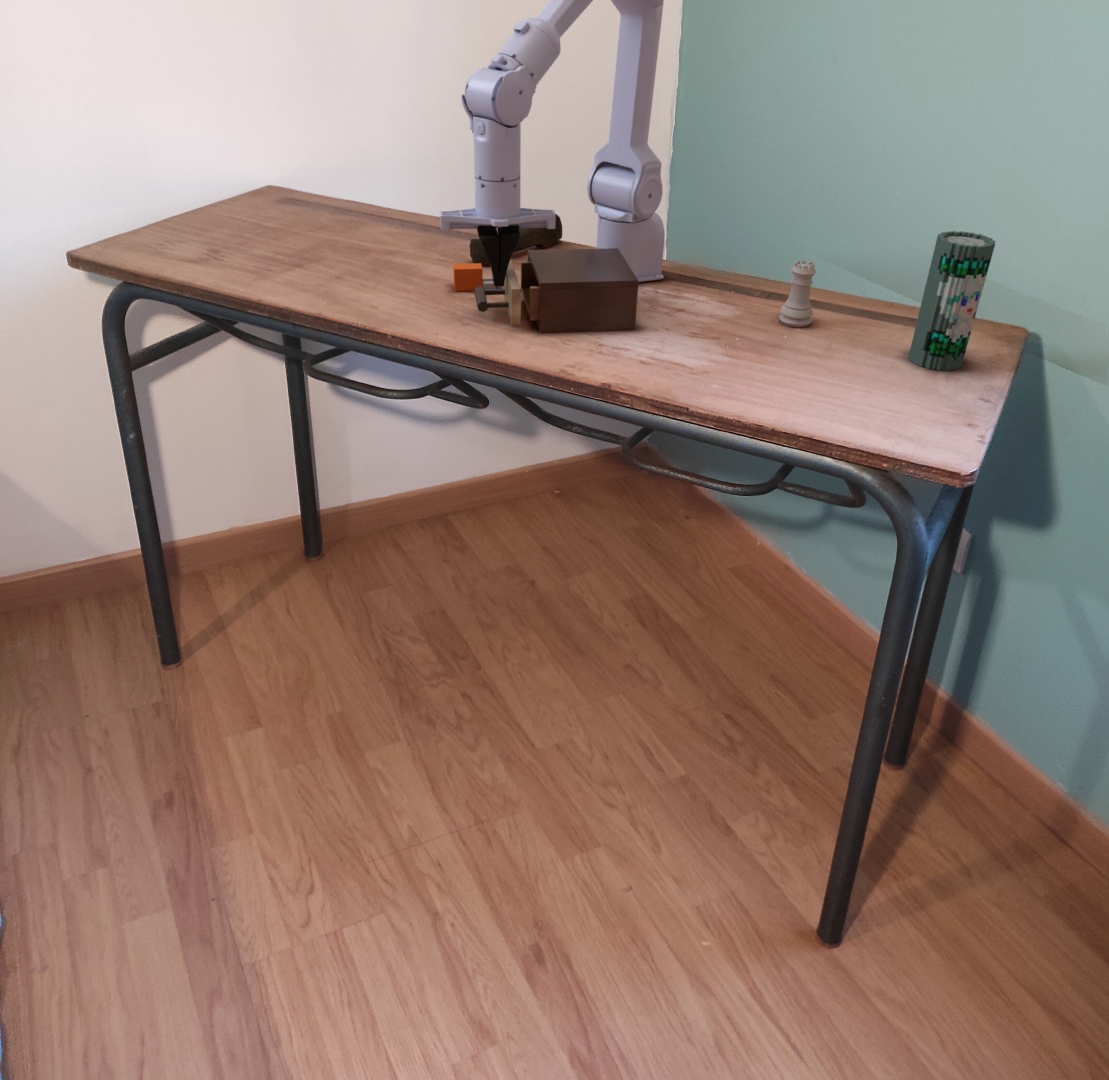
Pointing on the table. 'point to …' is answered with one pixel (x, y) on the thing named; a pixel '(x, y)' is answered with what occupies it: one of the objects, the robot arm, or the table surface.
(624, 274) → the cabinet
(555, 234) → the hand tool
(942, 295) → the can
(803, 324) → the rook chess piece
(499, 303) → the drawer
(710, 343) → the table surface
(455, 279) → the block
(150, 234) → the table surface
